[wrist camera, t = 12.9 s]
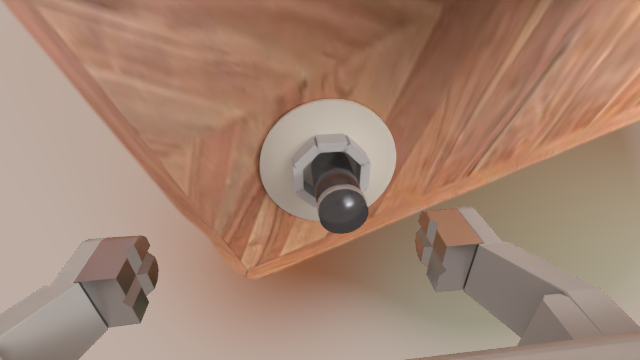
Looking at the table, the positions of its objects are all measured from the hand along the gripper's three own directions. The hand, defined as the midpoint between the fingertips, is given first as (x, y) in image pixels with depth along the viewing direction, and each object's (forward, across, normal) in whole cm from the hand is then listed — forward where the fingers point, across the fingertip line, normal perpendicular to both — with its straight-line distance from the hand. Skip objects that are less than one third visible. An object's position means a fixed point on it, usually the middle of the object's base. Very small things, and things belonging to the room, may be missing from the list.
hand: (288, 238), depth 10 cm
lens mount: (+30, -5, +15) cm, 34 cm away
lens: (+29, -5, +15) cm, 33 cm away
